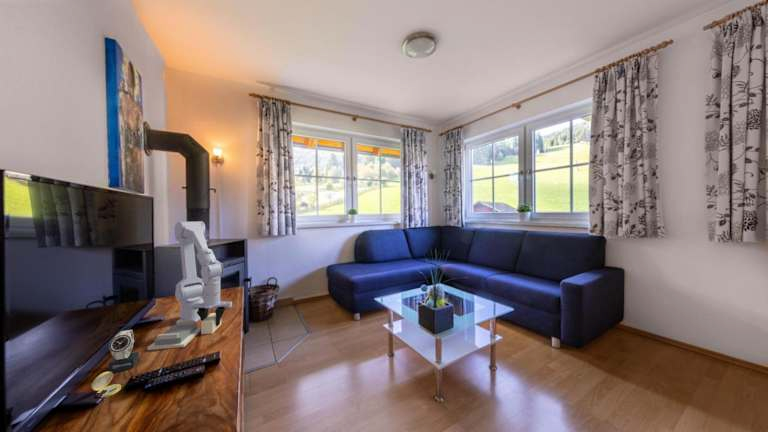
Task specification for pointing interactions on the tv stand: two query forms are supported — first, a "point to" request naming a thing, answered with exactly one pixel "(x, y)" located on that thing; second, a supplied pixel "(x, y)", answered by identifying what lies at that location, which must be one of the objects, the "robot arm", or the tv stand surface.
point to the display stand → (176, 335)
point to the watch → (123, 352)
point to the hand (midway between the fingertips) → (211, 325)
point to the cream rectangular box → (209, 324)
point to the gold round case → (105, 384)
